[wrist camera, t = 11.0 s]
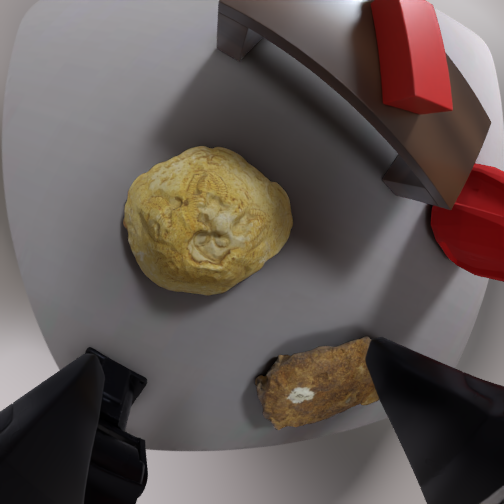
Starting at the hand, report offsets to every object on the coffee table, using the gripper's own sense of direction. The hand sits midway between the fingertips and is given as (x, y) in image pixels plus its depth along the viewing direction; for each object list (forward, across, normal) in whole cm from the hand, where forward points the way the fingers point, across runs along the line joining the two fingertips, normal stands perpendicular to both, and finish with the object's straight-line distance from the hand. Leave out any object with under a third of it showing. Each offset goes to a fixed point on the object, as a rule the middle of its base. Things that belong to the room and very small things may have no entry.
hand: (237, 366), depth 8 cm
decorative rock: (+13, -10, +14) cm, 21 cm away
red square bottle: (+6, -9, -13) cm, 17 cm away
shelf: (+12, -9, -13) cm, 20 cm away
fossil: (+13, +1, -2) cm, 13 cm away
